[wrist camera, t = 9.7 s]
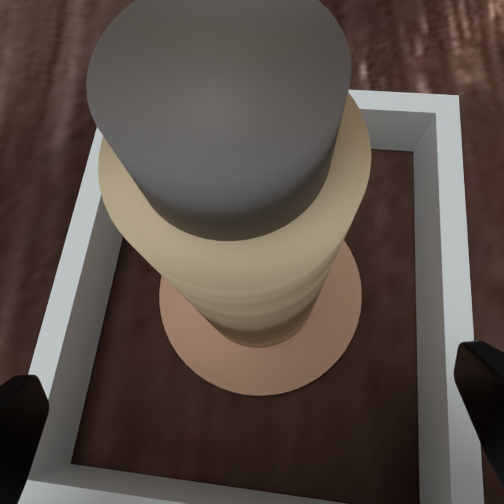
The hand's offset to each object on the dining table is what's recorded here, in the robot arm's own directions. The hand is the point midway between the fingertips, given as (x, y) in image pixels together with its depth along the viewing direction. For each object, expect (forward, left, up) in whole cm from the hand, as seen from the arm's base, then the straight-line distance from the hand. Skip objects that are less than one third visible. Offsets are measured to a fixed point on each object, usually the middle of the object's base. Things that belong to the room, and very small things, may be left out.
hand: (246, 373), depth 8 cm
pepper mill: (+4, +1, -8) cm, 9 cm away
